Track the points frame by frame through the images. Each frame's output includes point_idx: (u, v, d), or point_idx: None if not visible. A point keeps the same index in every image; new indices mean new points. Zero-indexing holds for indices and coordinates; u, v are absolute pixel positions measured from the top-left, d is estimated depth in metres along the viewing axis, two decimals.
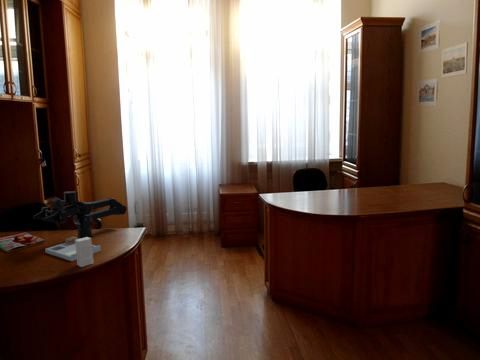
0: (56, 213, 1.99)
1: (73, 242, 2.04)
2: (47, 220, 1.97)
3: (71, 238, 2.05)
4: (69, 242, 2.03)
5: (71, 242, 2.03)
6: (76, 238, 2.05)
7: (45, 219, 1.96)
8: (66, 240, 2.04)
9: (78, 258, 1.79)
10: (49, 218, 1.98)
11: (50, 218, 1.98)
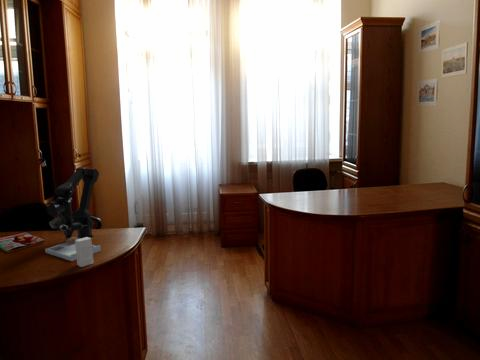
0: (66, 231, 2.03)
1: (73, 242, 2.04)
2: (70, 236, 2.07)
3: (71, 238, 2.05)
4: (69, 242, 2.03)
5: (71, 242, 2.03)
6: (76, 238, 2.05)
7: None
8: (66, 240, 2.04)
9: (78, 258, 1.79)
10: (68, 235, 2.06)
11: (69, 234, 2.06)
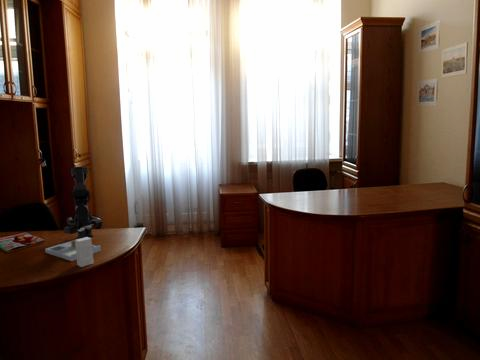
0: (77, 231, 2.02)
1: None
2: None
3: None
4: None
5: None
6: None
7: None
8: (72, 242, 2.00)
9: (78, 258, 1.79)
10: (82, 237, 2.02)
11: (82, 236, 2.02)
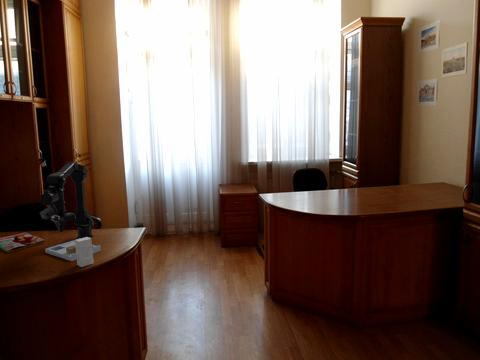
0: (58, 221, 1.90)
1: (74, 251, 1.90)
2: (62, 228, 1.94)
3: (72, 247, 1.91)
4: (70, 251, 1.89)
5: (72, 251, 1.89)
6: None
7: (61, 230, 1.93)
8: (67, 249, 1.91)
9: (78, 258, 1.79)
10: (61, 227, 1.93)
11: (61, 226, 1.93)
